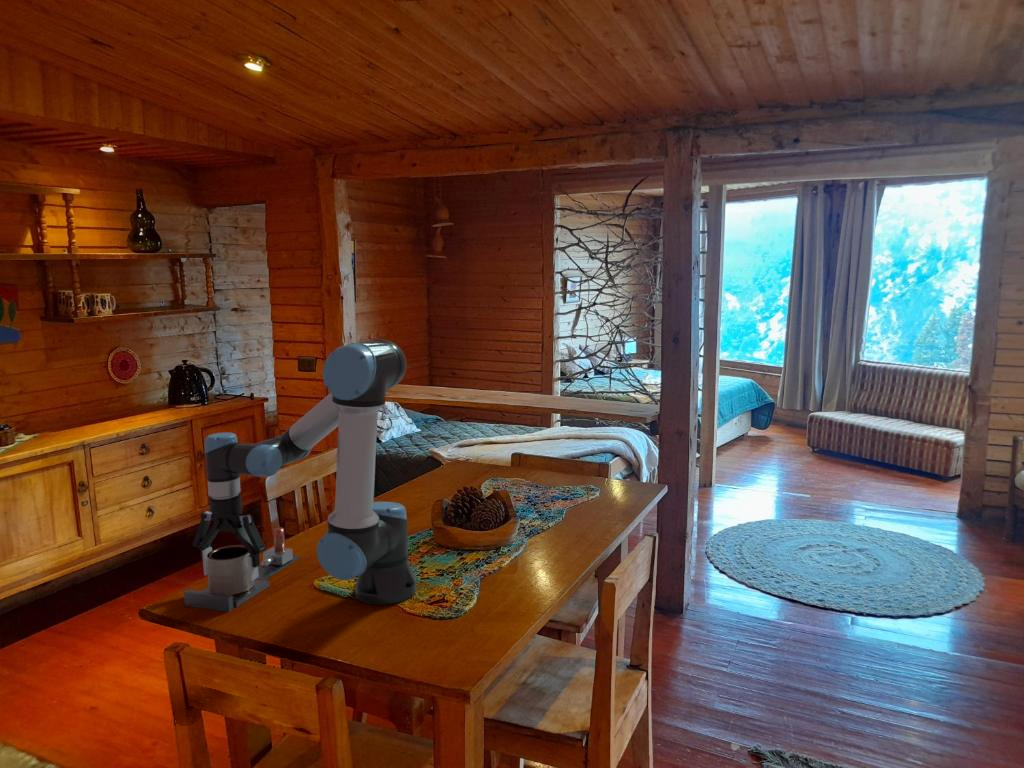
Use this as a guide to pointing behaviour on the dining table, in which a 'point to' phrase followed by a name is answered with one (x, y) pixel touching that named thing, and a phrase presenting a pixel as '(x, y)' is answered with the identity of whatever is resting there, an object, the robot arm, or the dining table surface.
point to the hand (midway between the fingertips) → (231, 576)
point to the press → (228, 601)
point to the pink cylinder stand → (277, 550)
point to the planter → (229, 570)
